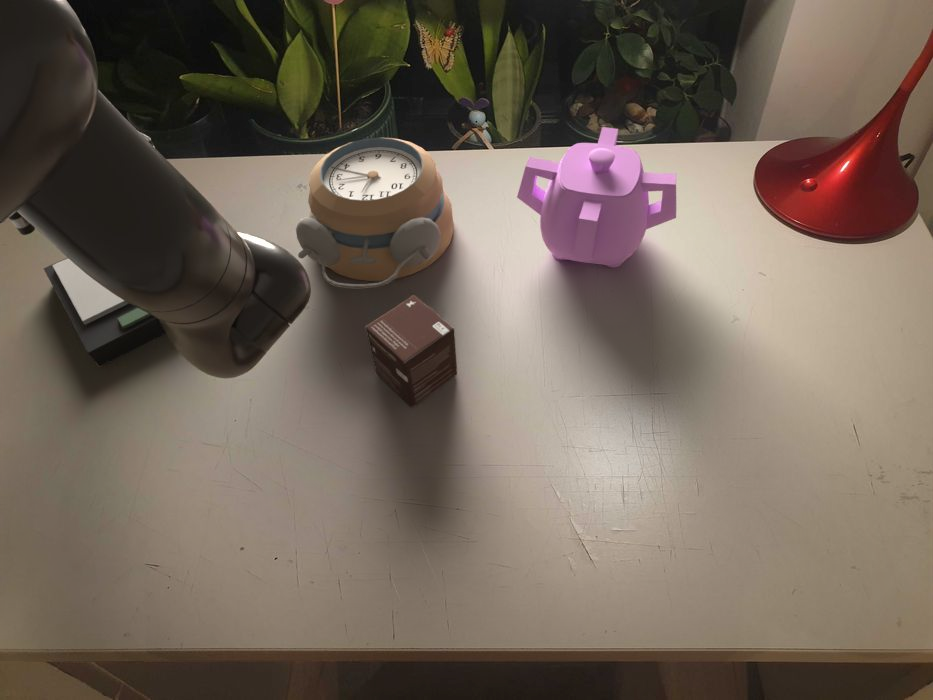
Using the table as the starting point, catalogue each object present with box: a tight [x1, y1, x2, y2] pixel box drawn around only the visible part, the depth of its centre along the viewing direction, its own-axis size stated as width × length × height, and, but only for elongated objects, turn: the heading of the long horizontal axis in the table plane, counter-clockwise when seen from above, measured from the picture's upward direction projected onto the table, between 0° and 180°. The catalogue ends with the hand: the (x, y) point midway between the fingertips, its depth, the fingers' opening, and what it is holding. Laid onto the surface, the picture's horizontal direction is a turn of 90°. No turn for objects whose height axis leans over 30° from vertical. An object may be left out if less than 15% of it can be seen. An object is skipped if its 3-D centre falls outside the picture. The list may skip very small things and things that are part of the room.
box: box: [364, 294, 458, 408], centre depth 63 cm, size 6×6×7 cm
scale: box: [43, 257, 166, 368], centre depth 74 cm, size 14×16×3 cm
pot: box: [516, 126, 677, 268], centre depth 72 cm, size 18×17×12 cm
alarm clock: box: [295, 137, 455, 290], centre depth 74 cm, size 17×9×23 cm
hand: (38, 144), depth 63 cm, fingers closed on cup, 6 cm apart
